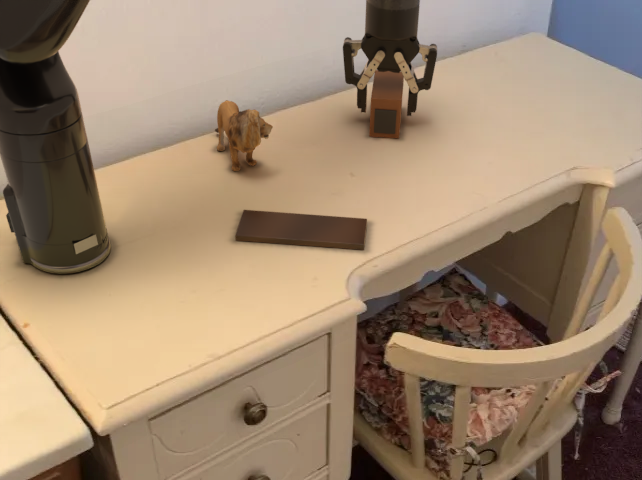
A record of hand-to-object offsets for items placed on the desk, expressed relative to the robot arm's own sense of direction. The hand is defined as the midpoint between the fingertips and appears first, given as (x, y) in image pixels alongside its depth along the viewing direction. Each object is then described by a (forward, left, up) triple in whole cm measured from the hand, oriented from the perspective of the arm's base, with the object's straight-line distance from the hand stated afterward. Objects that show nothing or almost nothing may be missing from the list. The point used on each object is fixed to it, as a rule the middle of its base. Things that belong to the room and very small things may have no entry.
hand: (386, 111), depth 128 cm
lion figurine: (-20, -14, -2) cm, 24 cm away
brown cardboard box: (0, 0, -2) cm, 2 cm away
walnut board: (-9, -32, -2) cm, 33 cm away
